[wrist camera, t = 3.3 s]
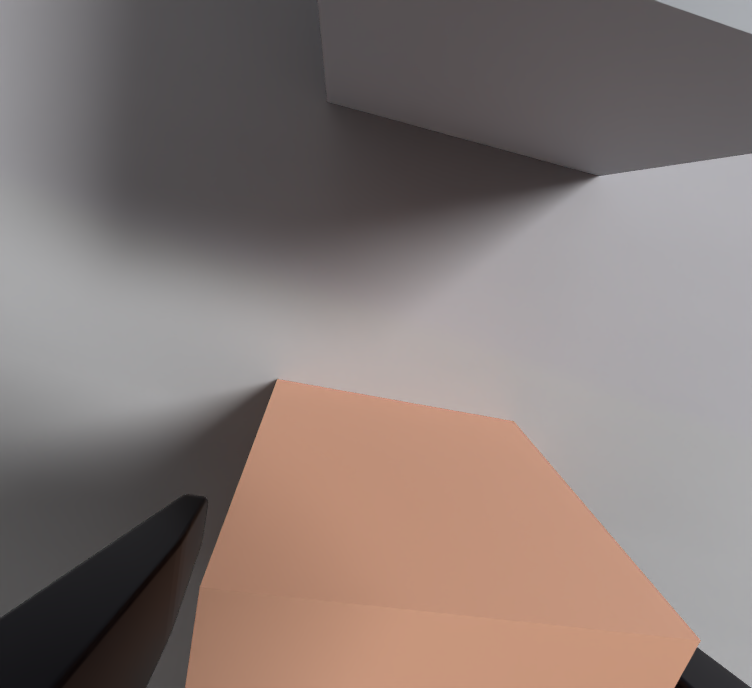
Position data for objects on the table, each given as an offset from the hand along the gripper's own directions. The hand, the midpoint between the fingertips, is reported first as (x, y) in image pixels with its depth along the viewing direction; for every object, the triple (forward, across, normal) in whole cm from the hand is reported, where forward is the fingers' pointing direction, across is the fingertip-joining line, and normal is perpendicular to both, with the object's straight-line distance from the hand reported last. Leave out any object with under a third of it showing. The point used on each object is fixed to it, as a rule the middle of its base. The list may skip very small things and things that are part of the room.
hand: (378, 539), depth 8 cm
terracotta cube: (+1, 0, 0) cm, 1 cm away
